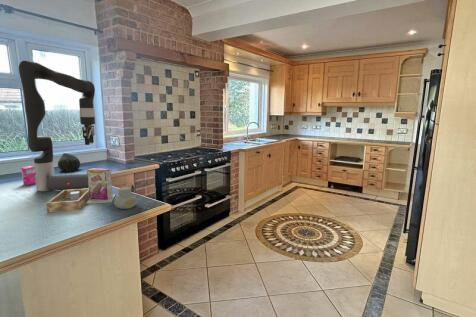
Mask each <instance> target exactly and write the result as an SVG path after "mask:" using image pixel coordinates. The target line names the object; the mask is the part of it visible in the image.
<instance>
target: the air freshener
mask: <svg viewBox="0 0 476 317" xmlns="http://www.w3.org/2000/svg"><path fill="white" fill-rule="evenodd" d="M132 192H133V190H132V187H130V186H123V187H120V188H119V189H118V196H117V197H116V198H114V202H113V203H114V204H113V205H114V206H115V207H116V208H118V209H121V210H129V209H131V208H134V207H135V206H136V205H137V204H138V197H136V196H135V195H133V193H132Z"/></svg>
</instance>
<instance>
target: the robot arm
mask: <svg viewBox="0 0 476 317" xmlns="http://www.w3.org/2000/svg"><path fill="white" fill-rule="evenodd" d="M18 73H19V78H20V81H21V86H22V90H23V91H22V92H23V99H24V108H25V116H26V123H27V143H28V148H29V150H30V151H31V152H32V153H38V152H42V153H41V154H40V155H38V156H35V157H34V158H33V161H34V167H35V172H36V175H35V183H36V184H35V188H36V189H35V190H36V192H49V191H51V190H48V188H47V178H48V177H50V176H56V174H55V166H54V149H53V140H52V138H51V136H49V135H38V130H39V126H40V125H41V123H42V122H43V120H44V119H45V116H46V105H45V100H44V99H43V97H42V96H41V94H40V93H39V91H38V88H37V86H36V81H35V80H46V81H50V82H53V83H54V84H56V85H58V86H61V87H65V88H67V89H71V90H72V91H75V92H78V93H81V94H82V97H80V98H79V99H78V105H79V121H80V122H79V123H80V125H84V126H82V127H81V129H82V130H81V131H82V138H83V139H84V145H85V146H89V145H90V144H93V143H94V142H95V139H94V136H95V126H94V125H95V124H96V113H95V108H94V98H95V92H96V88H95V84H94V83H93V82H92V81H90V80H84V79H79V78H76V77H75V76H72V75H70V74H67V73H64V72H59V71H55V70H53V69H51V68H49V67H46V66H45V65H42V64H41V63H38V62H37V61H32V60H31V61H30V60H21V61H20V62H19V64H18Z"/></svg>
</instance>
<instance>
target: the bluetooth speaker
mask: <svg viewBox="0 0 476 317" xmlns="http://www.w3.org/2000/svg"><path fill="white" fill-rule="evenodd" d="M47 188H48V190H50V191H60V192H62V191H63V190H72V189H89V186H88V176H87V173H75V174H73V173H72V174H60V175H59V174H58V175H55V176H50V177H48V178H47Z"/></svg>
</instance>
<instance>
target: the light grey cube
mask: <svg viewBox="0 0 476 317" xmlns="http://www.w3.org/2000/svg"><path fill="white" fill-rule="evenodd" d="M79 198H80V191H77V192H71V193H70V198H69V199H70V201H77V200H78V199H79Z"/></svg>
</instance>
